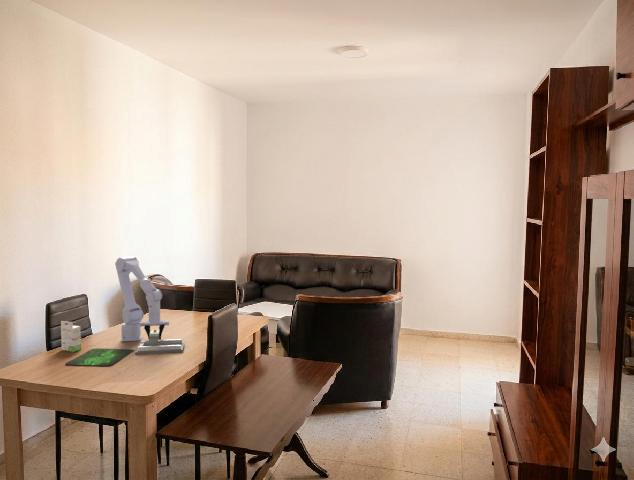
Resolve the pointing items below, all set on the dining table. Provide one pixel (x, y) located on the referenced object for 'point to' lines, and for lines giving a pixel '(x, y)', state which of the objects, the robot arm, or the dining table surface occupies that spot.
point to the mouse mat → (100, 357)
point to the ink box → (70, 336)
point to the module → (154, 335)
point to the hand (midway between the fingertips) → (154, 339)
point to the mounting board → (160, 350)
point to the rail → (158, 342)
